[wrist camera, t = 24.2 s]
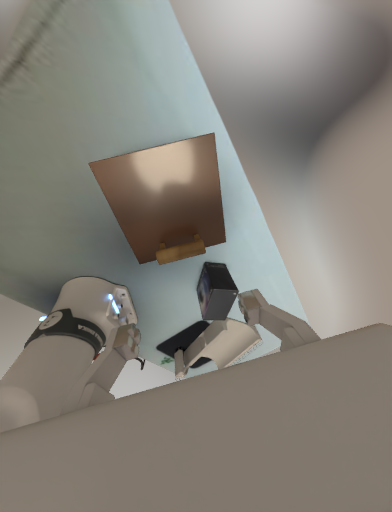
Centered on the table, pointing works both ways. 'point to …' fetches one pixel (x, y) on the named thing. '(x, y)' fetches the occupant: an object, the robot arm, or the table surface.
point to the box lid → (166, 198)
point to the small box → (216, 292)
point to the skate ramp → (219, 345)
